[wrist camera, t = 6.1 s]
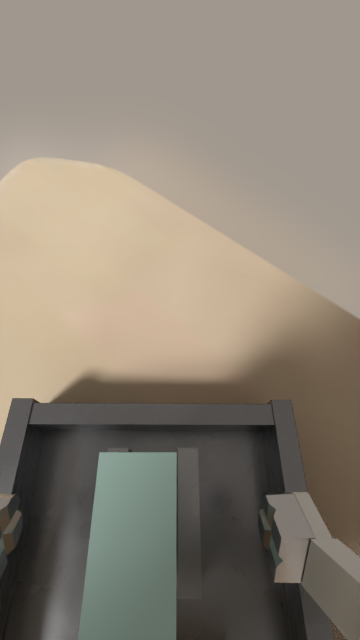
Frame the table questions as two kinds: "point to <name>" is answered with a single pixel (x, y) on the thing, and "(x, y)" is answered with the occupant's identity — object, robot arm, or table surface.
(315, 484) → the table surface
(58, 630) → the tray
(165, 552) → the sage board
